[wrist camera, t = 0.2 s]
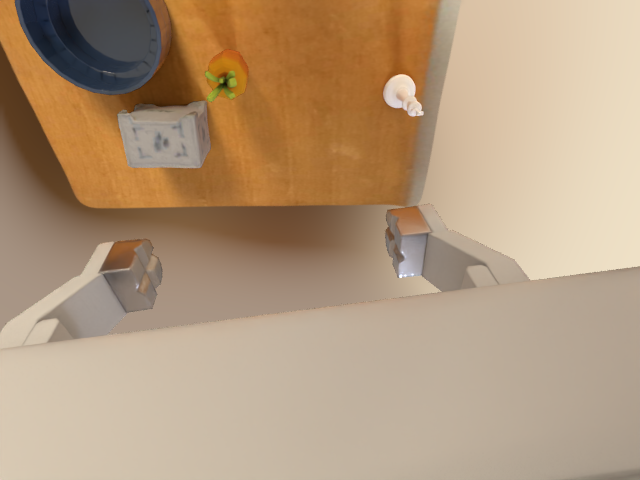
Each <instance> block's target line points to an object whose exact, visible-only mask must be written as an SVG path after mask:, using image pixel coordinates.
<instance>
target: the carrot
mask: <svg viewBox="0 0 640 480" xmlns="http://www.w3.org/2000/svg"><path fill="white" fill-rule="evenodd" d="M205 76H206V77H207V83H208V84H209V85H210V87H211V88H212V90H213V91H212V92H211V93H210V94H209V95H208V96H207V100H208V101H209V102H212V101H214V99H215V98H216V97H217V96H220V97H223V98H227V99H231V100H232V99H234V98H236V97H237V96H239V95H241V94H242V93H244V92H245V90H246V85H247V79H248V66H247V64H246V62H245V61H244V59H243V57H242V56H241V54H240V53H239V52H237V51H233V50H230V49H226V50H224V51H222V52H221V53H219V54H218V55H216V56H215V57H213V59H212V60H211V61H210V63H209V66H208V71H206V72H205Z"/></svg>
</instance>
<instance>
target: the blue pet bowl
mask: <svg viewBox="0 0 640 480" xmlns="http://www.w3.org/2000/svg"><path fill="white" fill-rule="evenodd" d="M15 6H16V10H17V14H18V17H19V21H20V24H21V27H22V29H23V31H24V33H25V35H26V37H27V39H28V40H29V42H30V44H31V46H32V47H33V48H34V49H35V51H36V52H37V53H38V55H39V56H40V57H41V58H42V60H43V61H44V62H45V63H46V64H47V65H48V66H50V67H51V68H52V69H53V70H54V71H55V72H56V73H57V74H58V75H60V76H61V77H63V78H64V79H66V80H68V81H69V82H71V83H73V84H74V85H76V86H78V87H81V88H83V89H86V90H88V91H91V92H94V93H100V94H107V95H117V94H126V93H129V92H131V91H134V90H136V89H139V88H141V87H142V86H143V85H144V84H145V83H146V82H147V81H149V80H150V79H151V78H152V77H153V75H154V74H155V73H156V72H157V71H158V70H159V69H160V67H161V66H162V65H163V63H164V61H165V59H166V58H167V56H168V54H169V49H170V45H171V39H172V37H171V22H170V18H169V15H168V11H167V7H166V4H165V2H164V0H15Z"/></svg>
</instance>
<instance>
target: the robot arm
mask: <svg viewBox="0 0 640 480" xmlns="http://www.w3.org/2000/svg"><path fill="white" fill-rule="evenodd" d="M386 221H387V223H388V226H389V227H388V228H387V229H386V237H385V238H386V246H387V251H388V253H389V256H391V257H392V258H393V267H394V269H395V272H396V274H397V277H398V278H400V277H410V276H420V275H422V276H423V277H424V278H425V279H426V280H428V281H429V282H430V283H431V284H433V285H434V286H436V287H437V288H438V289H439V290H441V291H442V292H438V293H431V294H423V295H415V296H408V297H399V298H392V299H384V300H376V301H369V302H360V303H353V304H345V305H337V306H329V307H322V308H314V309H306V310H299V311H291V312H283V313H275V314H267V315H260V316H252V317H244V318H236V319H229V320H220V321H213V322H205V323H197V324H189V325H181V326H173V327H166V328H158V329H150V330H143V331H134V332H127V333H119V334H111V335H107V334H108V333H109V332H110V331H111V330H112V329H113V328H114V327H115V326H116V325H117V324H118V322H120V320H121V319H122V318H123V317H124V316H125V315H126V314H127V313H128V312H134V311H140V310H147V309H152V308H153V305H154V302H155V299H156V296H157V293H156V291H155V288H157V287H158V286H159V285H160V283H161V280H162V267H161V263H160V261H159V259H158V257H156V256H155V255H153V254H152V251H153V246H152V244H151V242H150V240H148V239H137V240H126V241H117V242H107V243H101V244H99V245H98V246H97V248H96V250H95V252H94V253H93V255H92V257H91V258H90V260H89V262H88V263H87V265H86V267H85V269H84V270H83V272H82V274H81V276H76V277H74V278H72V279H71V280H70V281H68V282H67V283H65V284H64V285H62V286H61V287H59V288H58V289H56V290H55V291H54V292H52V293H51V294H49V295H47V296H46V297H45V298H43V299H42V300H40V301H39V302H37V303H36V304H34V305H33V306H31V307H30V308H28V309H27V310H25V311H24V312H22V313H21V314H20V315H18V316H17V317H15V318H14V319H12V320H11V321H9V322H8V323H7V324H6V325H5V326H4V328H3V329H2V331H1V332H0V480H640V267H632V268H624V269H616V270H609V271H601V272H594V273H586V274H578V275H570V276H563V277H555V278H547V279H539V280H532V281H530V279H529V278H528V277H527V275H526V274H525V273H524V272H523V270H522V269H521V268H520V266H519V265H518V264H517V262H516V261H515V260H514V259H512V258H510V257H508V256H506V255H503V254H501V253H499V252H497V251H495V250H493V249H491V248H489V247H487V246H484V245H483V244H481V243H479V242H476V241H474V240H472V239H470V238H468V237H466V236H464V235H462V234H459V233H458V232H456V231H454V230H450V231H449V230H448V229H447V228H446V226H445V224H444V223H443V221H442V219H441V218H440V216H439V215H438V213H437V211H436V210H435V208H434V207H433V205H432V204H424V205H418V206H413V207H406V208H398V209H391V210H387V214H386Z"/></svg>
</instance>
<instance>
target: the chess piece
mask: <svg viewBox="0 0 640 480" xmlns="http://www.w3.org/2000/svg"><path fill="white" fill-rule="evenodd" d="M414 95H415V84H414V82H413V80H412V79H411V78H410V77H409V76H407V75H403V74H400V75H396V76H394V77H392V78H391V79H390V80H389V81H388V82H387V83H386V85H385V87H384V91H383V96H384V100H385V102H386V103H387V104H388V105H390V106H391V107H393V108H402V107H403V109H404V110H406V111H407V112H408V114H409V115H410V116H416V115H417V116H420V115H422V116H423V114H424V112H423V111H421V109H422V106H421V104H420V103H419V102H417V100H416V98H415V97H414Z"/></svg>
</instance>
